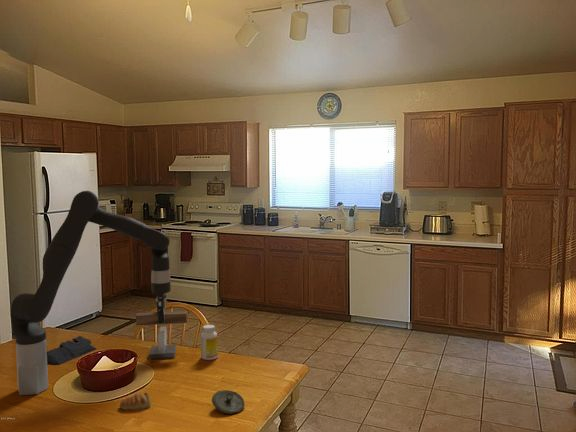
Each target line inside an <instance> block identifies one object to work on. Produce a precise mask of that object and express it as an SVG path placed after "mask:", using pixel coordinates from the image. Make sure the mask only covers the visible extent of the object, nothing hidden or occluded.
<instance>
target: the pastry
mask: <svg viewBox="0 0 576 432" xmlns="http://www.w3.org/2000/svg"><path fill="white" fill-rule="evenodd" d="M151 405H152V403H151V397H150V393H149V392H148V391H146V392H142V393H141V392H140V393H139V392H138V393H136V394H134V395H132V396H128V397H127V398H125V399H123V400H122V401H120V404H119V407H120V409H121V410H124V411H136V410H142V409H143V410H144V409H147V408H148V409H149V408H151Z"/></svg>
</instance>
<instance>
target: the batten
mask: <svg viewBox="0 0 576 432" xmlns="http://www.w3.org/2000/svg"><path fill="white" fill-rule="evenodd" d="M187 323H188V311H187V310H172V311H165V312H164V323H163V324H162V325H173V324H187ZM153 325H160V324H159V323H158V314H157V311H154V312H153V311H151V312H148V311H147V312H137V313H136V314H135V326H153Z"/></svg>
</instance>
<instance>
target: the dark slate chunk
mask: <svg viewBox="0 0 576 432" xmlns="http://www.w3.org/2000/svg"><path fill="white" fill-rule="evenodd" d="M96 350H97V348H96V347H95V346H93V345H92V341H91V340H90V339H88V338H86V337H83V336H81V335H78V336H77V337H75V338H72V340H65V342H64V341H63V342H60V344H59V347H57V348H56V347H55V348H52V349H50V350H47V364H52V365H59V366H60V365H62V364H65V363H68V362H70V361H72V360H75V359H78V358H80V357H82V356H84V355H86V354H89V353H91V352H93V351H96Z"/></svg>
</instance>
